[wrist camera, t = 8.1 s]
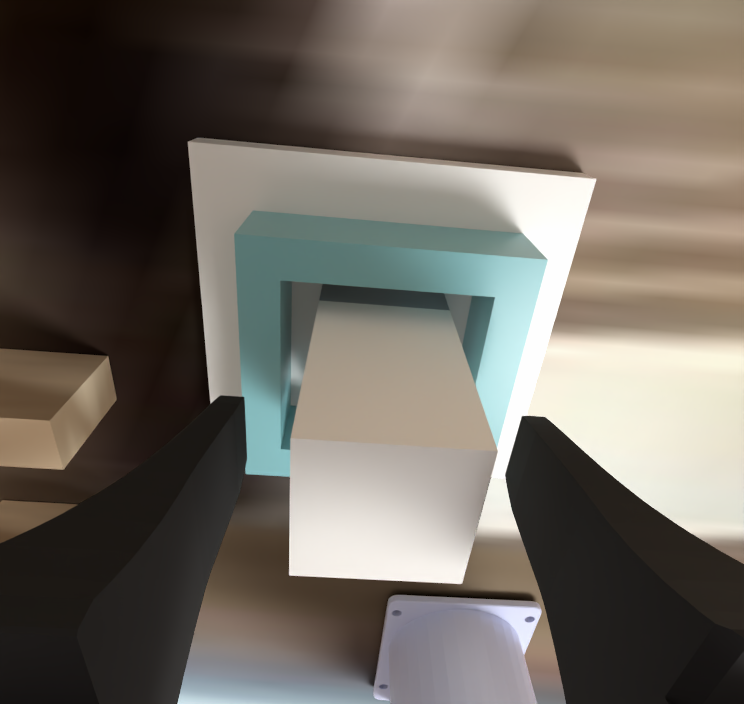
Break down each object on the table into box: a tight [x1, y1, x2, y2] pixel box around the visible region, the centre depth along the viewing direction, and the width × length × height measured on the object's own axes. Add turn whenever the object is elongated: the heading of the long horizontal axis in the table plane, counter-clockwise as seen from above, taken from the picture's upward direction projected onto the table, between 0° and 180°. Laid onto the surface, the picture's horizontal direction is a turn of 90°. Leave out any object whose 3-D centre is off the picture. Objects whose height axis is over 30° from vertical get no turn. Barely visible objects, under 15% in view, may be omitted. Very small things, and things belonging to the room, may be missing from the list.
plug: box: [289, 284, 498, 584], centre depth 14 cm, size 4×4×8 cm
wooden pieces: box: [0, 348, 117, 543], centre depth 19 cm, size 10×6×4 cm, turn 175°
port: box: [188, 138, 596, 479], centre depth 17 cm, size 12×12×4 cm
